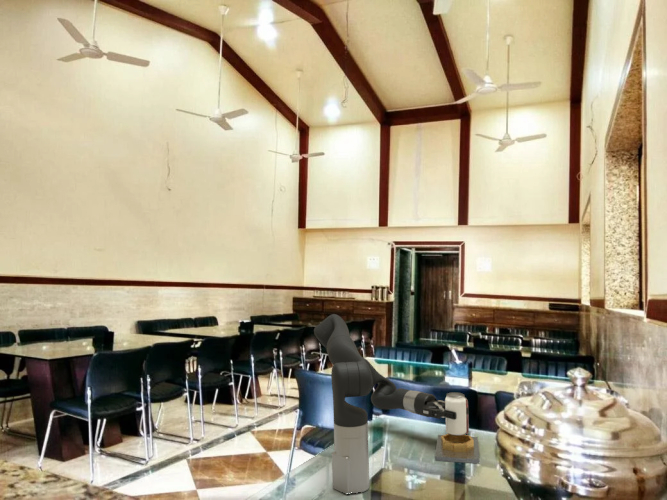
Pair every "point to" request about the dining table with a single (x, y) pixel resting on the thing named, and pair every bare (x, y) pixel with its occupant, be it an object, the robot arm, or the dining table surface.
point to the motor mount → (457, 448)
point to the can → (458, 405)
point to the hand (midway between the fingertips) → (461, 413)
